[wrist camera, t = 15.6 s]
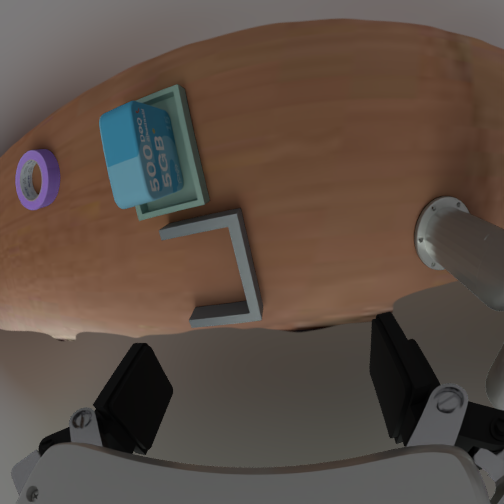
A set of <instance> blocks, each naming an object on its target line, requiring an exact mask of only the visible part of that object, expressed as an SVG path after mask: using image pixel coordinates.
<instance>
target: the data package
mask: <svg viewBox="0 0 504 504" xmlns="http://www.w3.org/2000/svg"><path fill="white" fill-rule="evenodd" d="M99 126H100V133H101V139H102V144H103V150H104V155H105V160H106V165H107V170H108V174H109V179H110V183H111V187H112V192H113V196H114V199H115V202H116V204H117V205H118V206H119V207H120V208H122V209H126V208H130V207H133V206H137V205H141V204H144V203H148V202H152V201H155V200H157V199H160V198H162V197H165V196H167V195H170V194H172V193H175V192H177V191H180V190H181V189H182V188H183V177H182V172H181V168H180V163H179V159H178V154H177V149H176V145H175V140H174V135H173V130H172V125H171V120H170V117H169V115H168V113H167V112H166V111H165V110H162V109H159V108H156V107H153V106H150V105H147V104H144V103H140V102H137V101H131V102H128V103H126V104H124V105H121V106H119V107H117V108H115V109H113V110H111V111H109V112H107V113H105V114H103V115H102V116H101V117H100V121H99Z"/></svg>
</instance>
